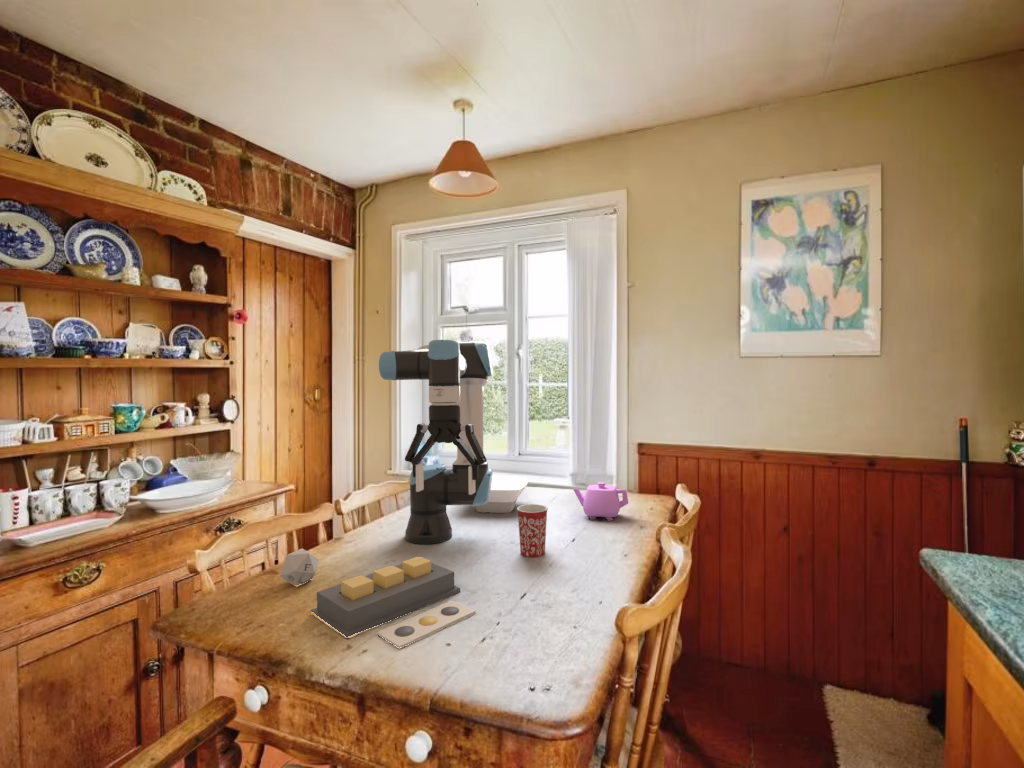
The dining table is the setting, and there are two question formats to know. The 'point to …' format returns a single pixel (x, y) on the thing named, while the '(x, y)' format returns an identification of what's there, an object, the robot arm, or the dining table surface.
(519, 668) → the dining table surface
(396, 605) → the board
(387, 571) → the button
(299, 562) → the die
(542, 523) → the mug
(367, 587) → the button
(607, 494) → the teapot
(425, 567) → the button
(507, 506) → the bowl
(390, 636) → the card
